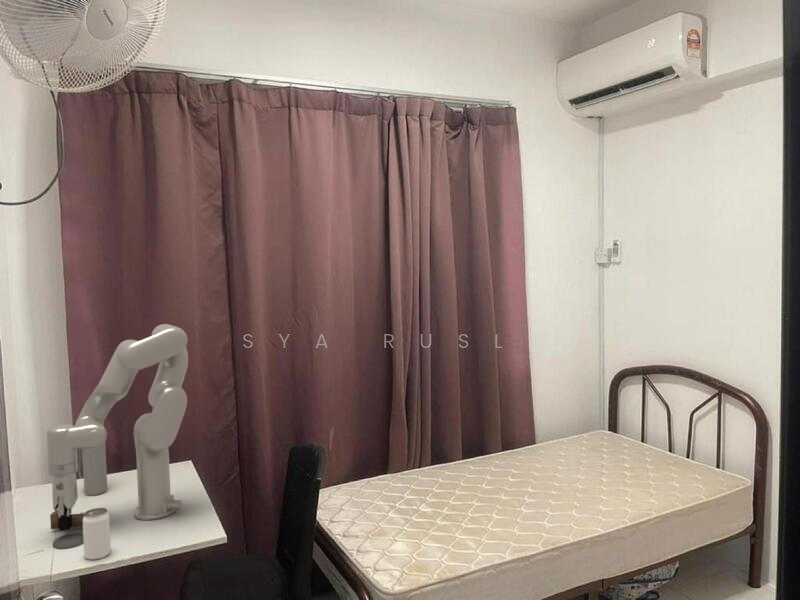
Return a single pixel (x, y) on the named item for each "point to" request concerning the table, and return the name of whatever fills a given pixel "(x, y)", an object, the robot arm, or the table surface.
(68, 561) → the table surface
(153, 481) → the robot arm
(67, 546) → the pad
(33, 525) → the table surface
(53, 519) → the bar
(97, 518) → the can
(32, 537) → the table surface
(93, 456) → the water bottle
